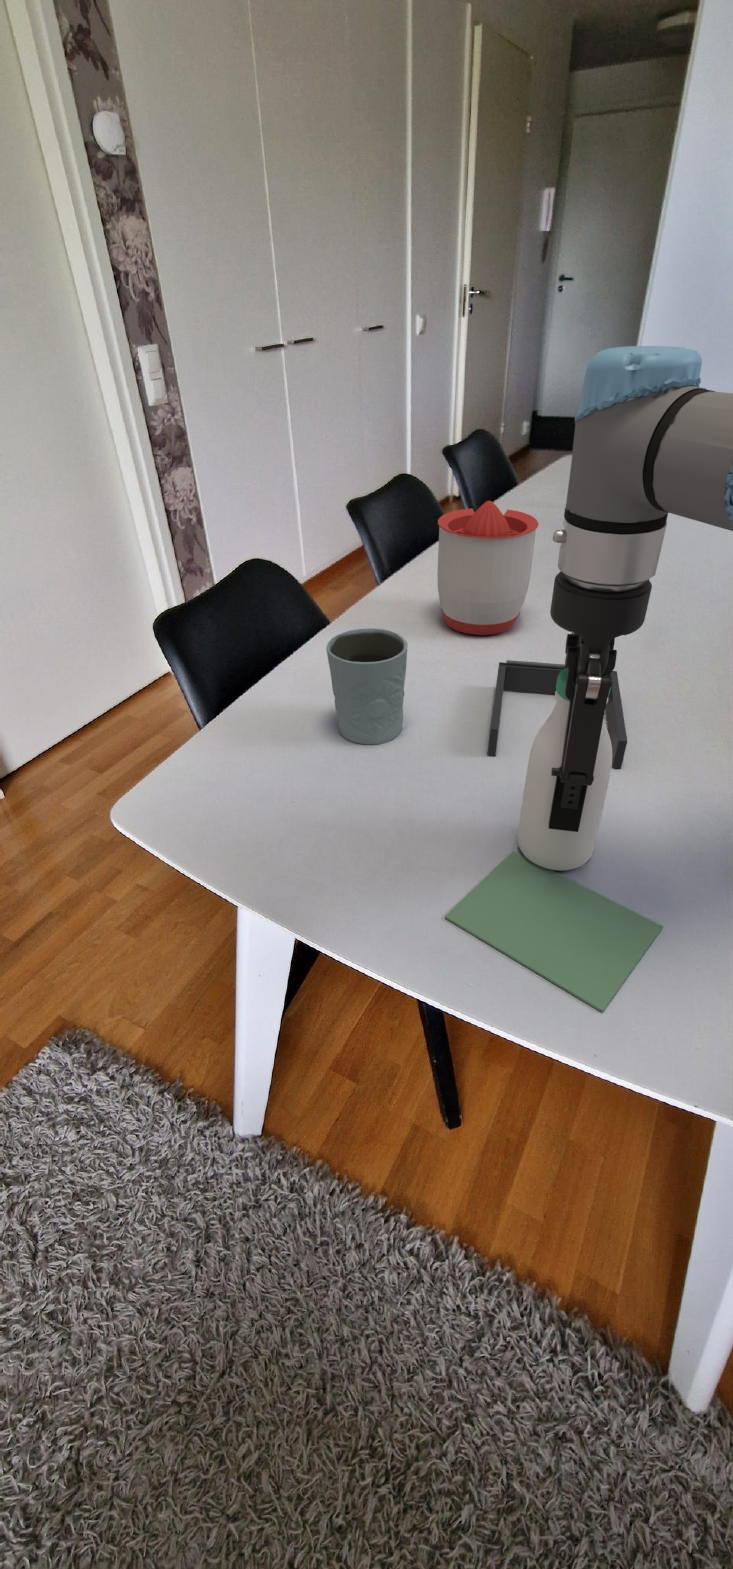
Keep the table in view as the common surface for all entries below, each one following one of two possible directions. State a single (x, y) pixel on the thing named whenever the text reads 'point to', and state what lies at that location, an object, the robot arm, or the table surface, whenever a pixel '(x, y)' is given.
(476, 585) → the citrus juicer
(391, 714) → the grey-green cup
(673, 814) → the table surface
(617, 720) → the dark grey u-shaped frame
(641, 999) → the table surface
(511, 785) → the table surface
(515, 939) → the mat
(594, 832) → the milk bottle
